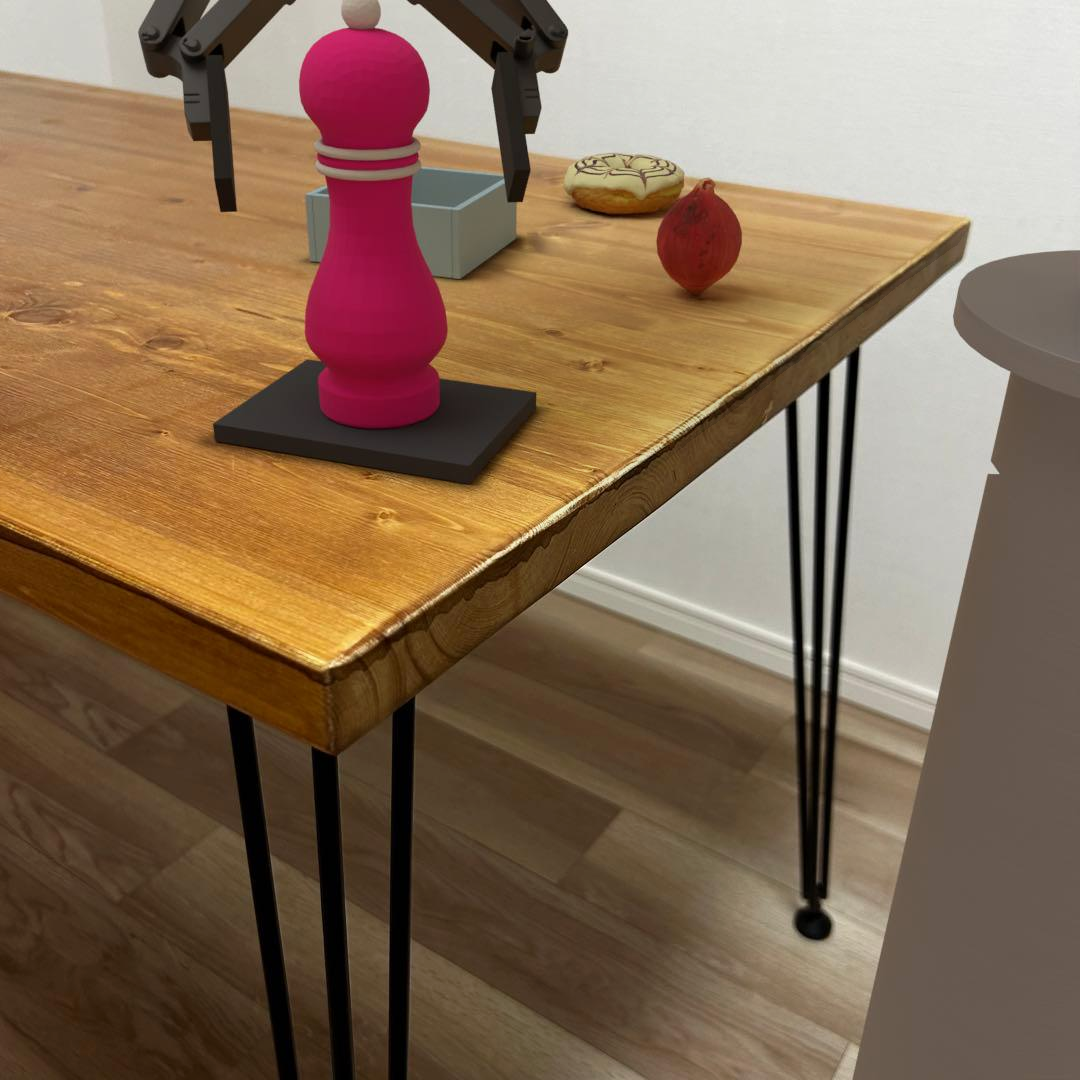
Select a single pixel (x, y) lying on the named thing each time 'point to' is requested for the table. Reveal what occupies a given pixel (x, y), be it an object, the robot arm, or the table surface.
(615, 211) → the decorated donut
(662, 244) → the onion
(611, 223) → the table surface
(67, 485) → the table surface
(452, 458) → the mat
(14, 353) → the table surface
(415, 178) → the crate
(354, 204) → the pepper mill
